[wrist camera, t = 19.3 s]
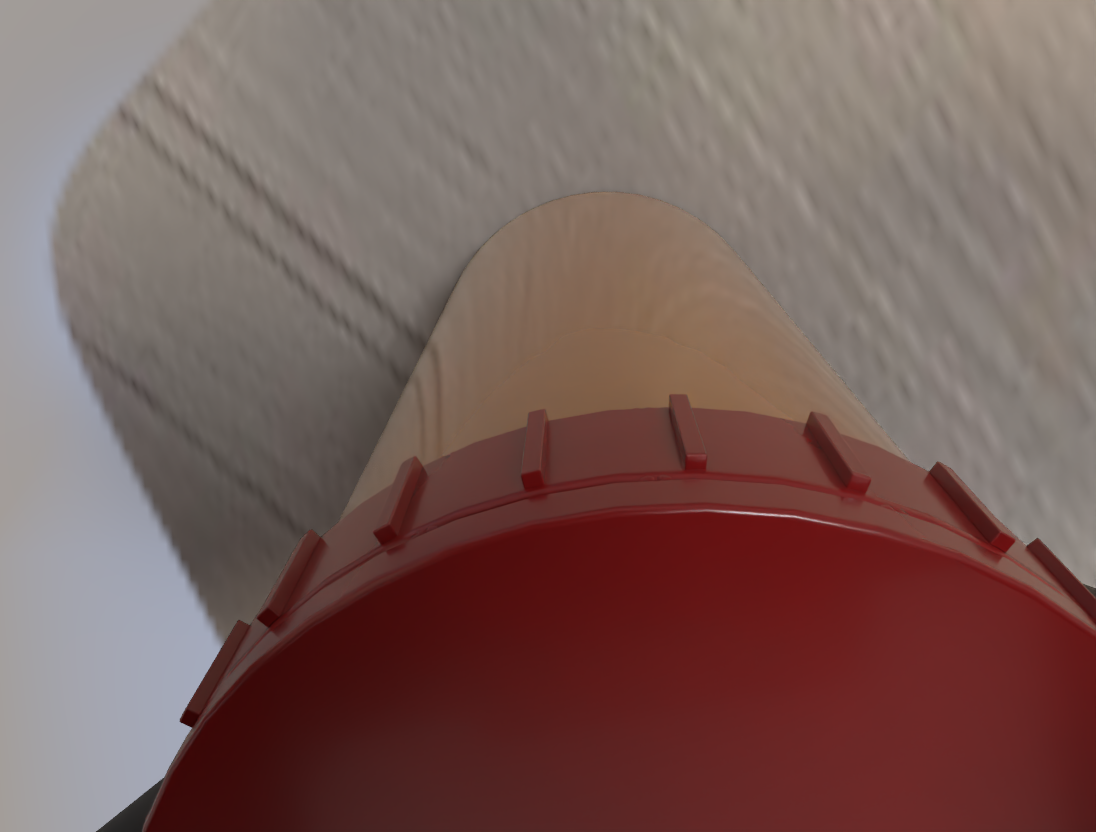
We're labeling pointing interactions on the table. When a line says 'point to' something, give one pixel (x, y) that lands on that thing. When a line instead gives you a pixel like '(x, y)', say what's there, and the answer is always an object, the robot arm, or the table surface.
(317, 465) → the table surface
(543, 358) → the jar
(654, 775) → the jar lid
